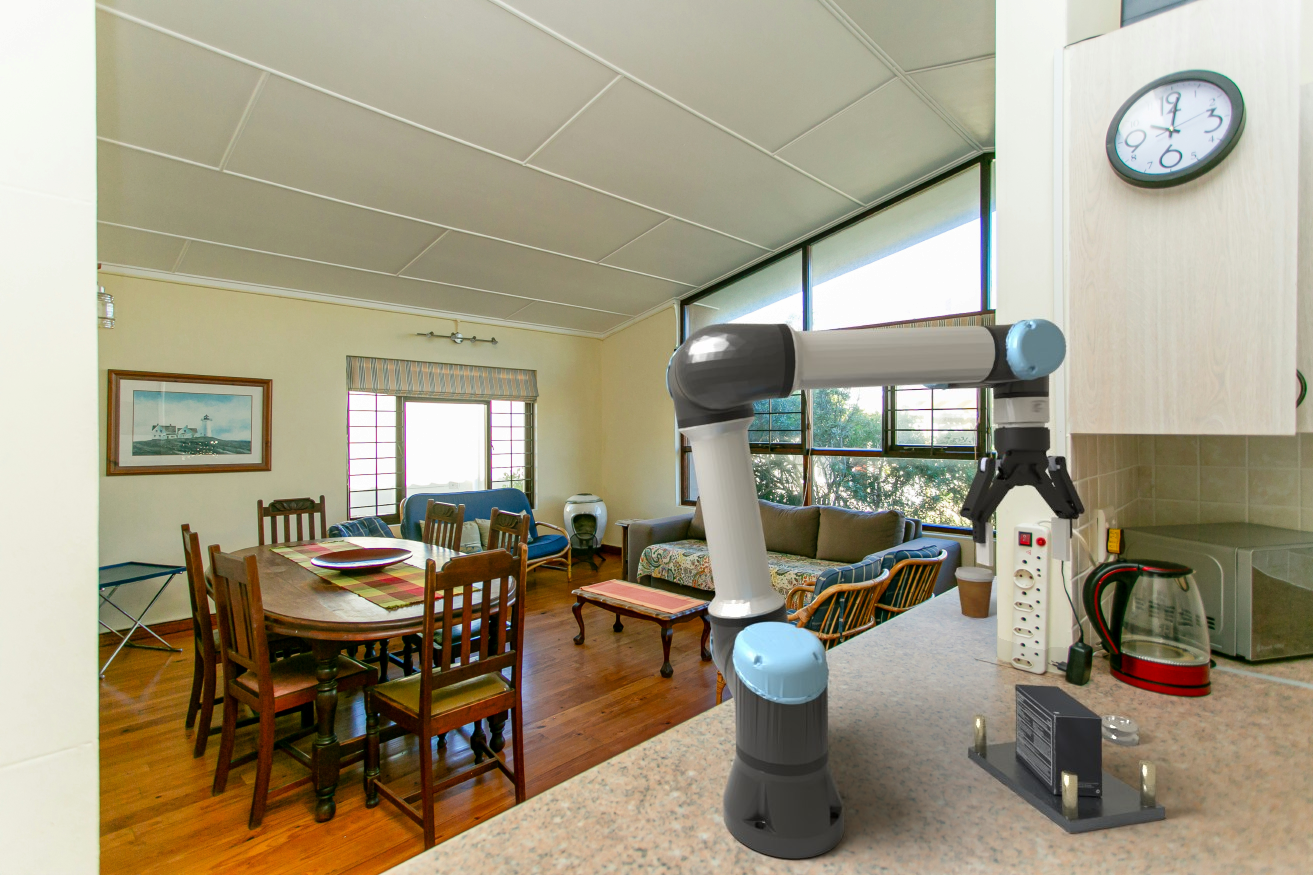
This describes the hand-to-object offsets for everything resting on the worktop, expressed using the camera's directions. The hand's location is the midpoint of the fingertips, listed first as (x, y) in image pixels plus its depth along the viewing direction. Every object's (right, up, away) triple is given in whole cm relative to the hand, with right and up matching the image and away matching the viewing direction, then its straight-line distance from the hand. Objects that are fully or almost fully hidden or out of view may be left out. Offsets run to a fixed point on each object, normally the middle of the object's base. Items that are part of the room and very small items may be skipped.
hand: (1023, 562), depth 94 cm
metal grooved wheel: (+16, -29, +2) cm, 33 cm away
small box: (-2, -27, -11) cm, 29 cm away
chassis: (-2, -29, -11) cm, 31 cm away
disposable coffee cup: (+28, -28, +68) cm, 79 cm away
